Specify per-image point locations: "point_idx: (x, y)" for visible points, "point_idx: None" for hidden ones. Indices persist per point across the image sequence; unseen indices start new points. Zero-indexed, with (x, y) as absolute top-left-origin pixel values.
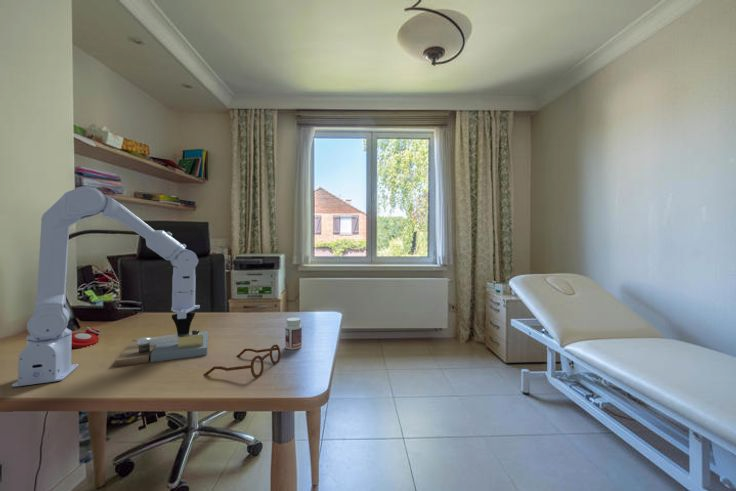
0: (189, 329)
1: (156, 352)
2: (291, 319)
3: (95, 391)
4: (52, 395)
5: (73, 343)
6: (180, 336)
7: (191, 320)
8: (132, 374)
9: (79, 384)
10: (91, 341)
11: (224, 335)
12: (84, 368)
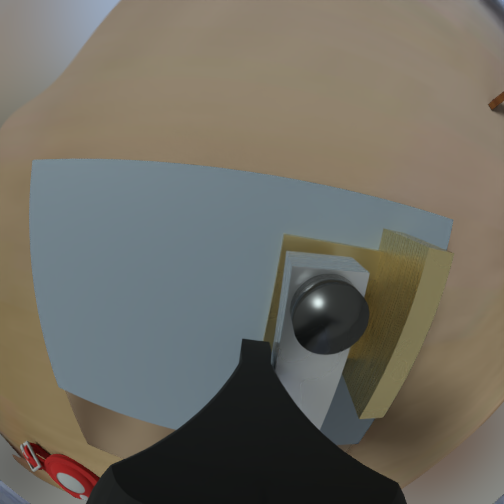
0: (257, 376)
1: (349, 433)
2: None
3: (445, 448)
4: (402, 485)
5: None
6: (370, 410)
7: (358, 462)
8: (418, 430)
9: None
10: (77, 471)
11: (74, 74)
12: None
